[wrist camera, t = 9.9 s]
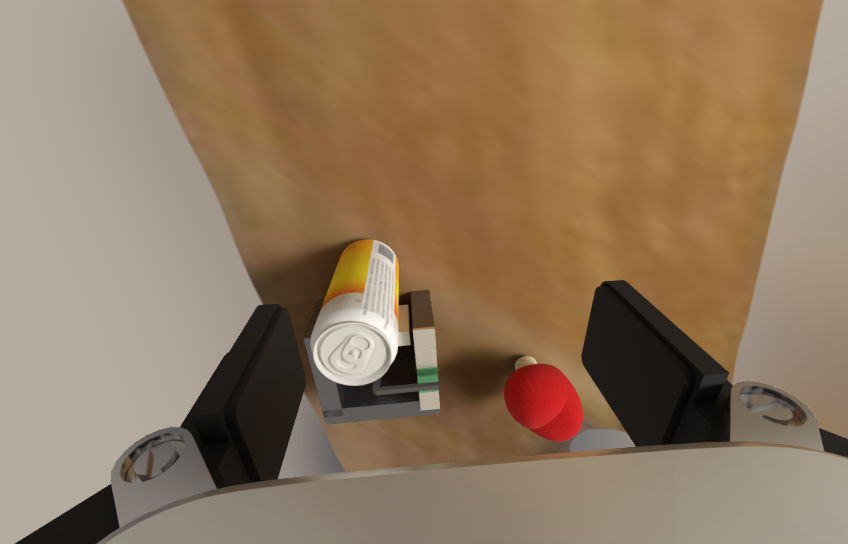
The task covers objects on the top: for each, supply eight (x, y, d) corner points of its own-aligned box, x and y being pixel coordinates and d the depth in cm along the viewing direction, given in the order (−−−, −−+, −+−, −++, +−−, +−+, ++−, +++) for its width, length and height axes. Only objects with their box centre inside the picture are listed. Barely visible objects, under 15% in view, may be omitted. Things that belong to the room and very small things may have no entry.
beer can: (330, 273, 38) (291, 369, 25) (357, 225, 36) (331, 302, 23) (380, 298, 40) (370, 401, 26) (409, 254, 38) (414, 342, 24)
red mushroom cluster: (476, 360, 44) (496, 427, 35) (517, 322, 42) (549, 383, 33) (528, 394, 47) (558, 464, 38) (568, 360, 45) (610, 425, 36)
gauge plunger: (341, 310, 39) (328, 356, 32) (430, 302, 39) (436, 346, 32) (349, 350, 41) (339, 401, 35) (432, 343, 42) (439, 391, 35)
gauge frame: (318, 299, 39) (302, 341, 33) (428, 290, 40) (434, 329, 33) (336, 377, 44) (325, 427, 38) (434, 368, 45) (440, 416, 38)
